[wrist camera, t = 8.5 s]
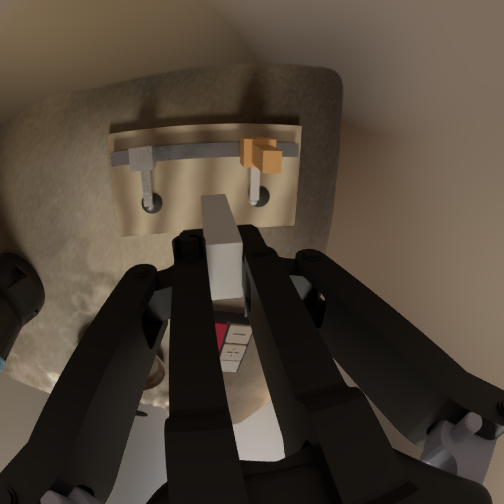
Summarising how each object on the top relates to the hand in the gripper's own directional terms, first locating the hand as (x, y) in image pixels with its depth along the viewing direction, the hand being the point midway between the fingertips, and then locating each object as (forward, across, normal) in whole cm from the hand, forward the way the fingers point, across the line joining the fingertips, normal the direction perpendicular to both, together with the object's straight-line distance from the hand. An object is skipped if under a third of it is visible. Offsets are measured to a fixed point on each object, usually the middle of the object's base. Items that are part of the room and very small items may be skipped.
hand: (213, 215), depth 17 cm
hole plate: (+24, 0, -3) cm, 25 cm away
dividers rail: (+23, 0, -2) cm, 23 cm away
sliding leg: (+22, +7, -2) cm, 23 cm away
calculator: (+25, +1, -37) cm, 45 cm away
